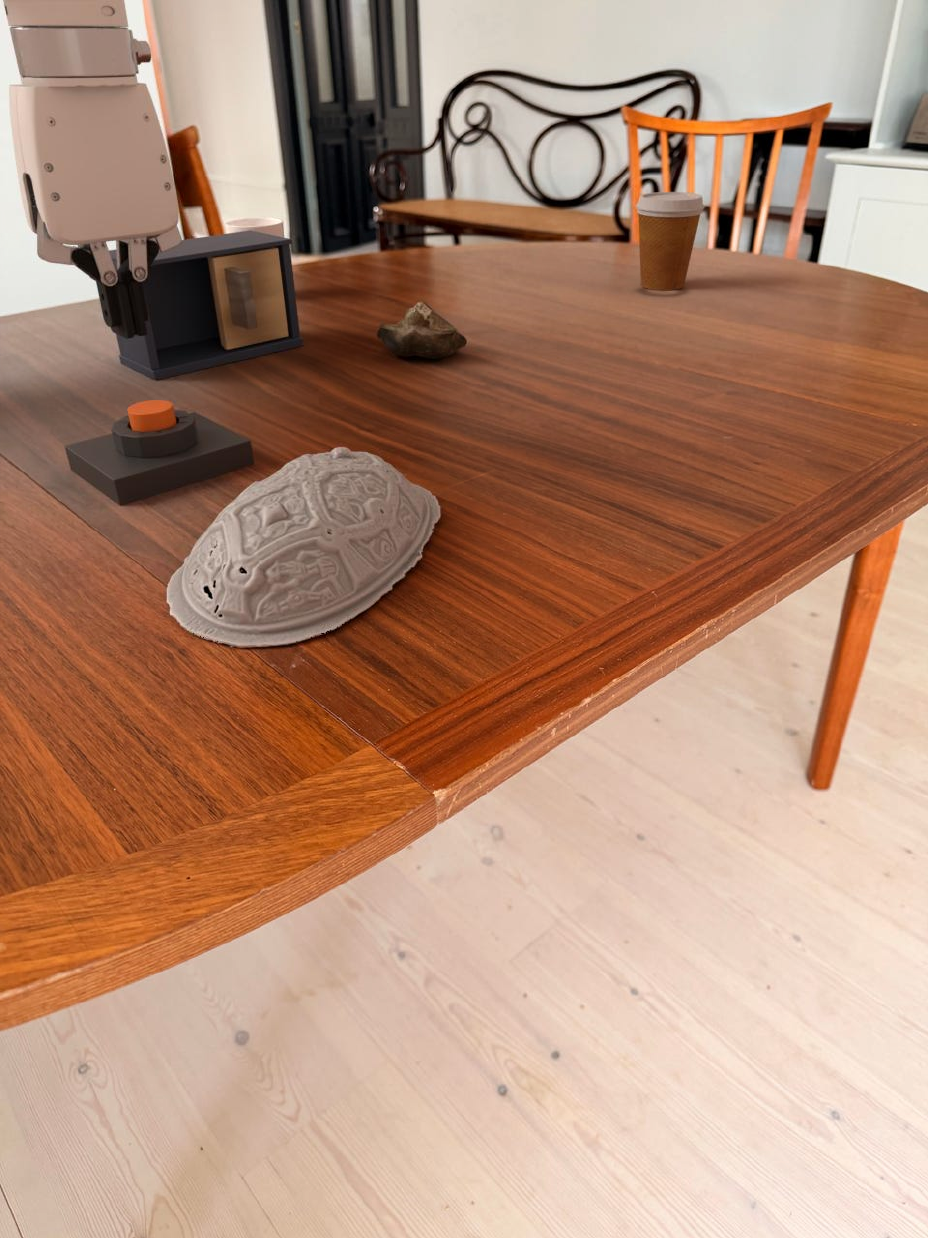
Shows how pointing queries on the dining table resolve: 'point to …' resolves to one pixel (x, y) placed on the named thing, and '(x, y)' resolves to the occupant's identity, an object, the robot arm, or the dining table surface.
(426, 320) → the fossilized seashell
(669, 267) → the disposable coffee cup
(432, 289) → the dining table surface
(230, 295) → the closet door
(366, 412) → the dining table surface
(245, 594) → the grey embossed domed part
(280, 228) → the white cup
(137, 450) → the switch block
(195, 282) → the closet
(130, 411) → the orange button
